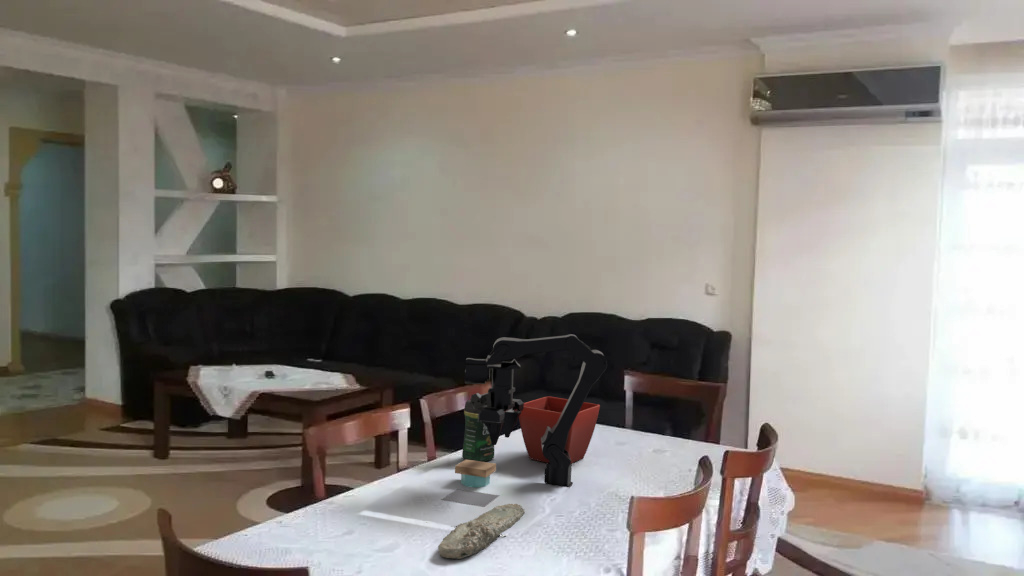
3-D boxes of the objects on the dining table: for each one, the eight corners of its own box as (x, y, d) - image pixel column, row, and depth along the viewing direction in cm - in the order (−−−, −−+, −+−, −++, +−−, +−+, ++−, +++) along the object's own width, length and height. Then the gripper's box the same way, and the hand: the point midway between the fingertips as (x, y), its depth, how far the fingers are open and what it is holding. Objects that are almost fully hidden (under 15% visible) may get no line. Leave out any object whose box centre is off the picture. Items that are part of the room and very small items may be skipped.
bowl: (492, 484, 233) (493, 470, 232) (482, 492, 226) (482, 477, 226) (468, 481, 235) (469, 466, 235) (457, 488, 229) (457, 473, 228)
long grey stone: (534, 522, 208) (498, 518, 212) (534, 501, 208) (498, 497, 212) (468, 564, 176) (427, 558, 181) (468, 539, 176) (427, 533, 181)
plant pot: (599, 457, 264) (601, 404, 263) (569, 471, 248) (571, 414, 247) (545, 447, 274) (547, 395, 273) (514, 460, 258) (516, 405, 257)
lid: (495, 470, 232) (496, 463, 232) (485, 477, 225) (486, 470, 225) (465, 466, 235) (465, 459, 235) (454, 473, 229) (455, 465, 229)
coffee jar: (476, 465, 251) (478, 403, 250) (457, 459, 257) (459, 398, 255) (499, 459, 258) (501, 398, 257) (480, 454, 264) (482, 394, 262)
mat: (499, 499, 220) (499, 495, 220) (484, 510, 211) (484, 506, 211) (457, 492, 225) (457, 488, 225) (440, 503, 216) (440, 499, 215)
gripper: (488, 376, 243) (486, 430, 244) (460, 387, 226) (459, 445, 227) (525, 380, 239) (523, 435, 240) (499, 391, 222) (497, 450, 223)
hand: (500, 440), depth 233 cm, fingers open, 9 cm apart
